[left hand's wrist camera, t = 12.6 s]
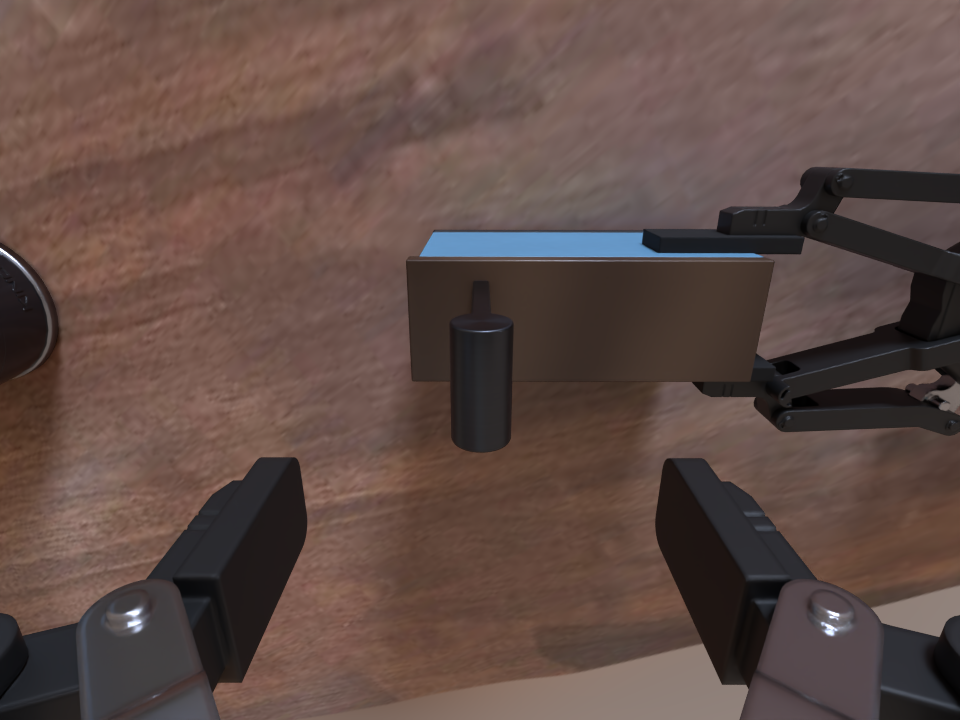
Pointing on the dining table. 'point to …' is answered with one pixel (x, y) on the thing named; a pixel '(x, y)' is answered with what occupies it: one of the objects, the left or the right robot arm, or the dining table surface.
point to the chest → (548, 244)
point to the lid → (577, 326)
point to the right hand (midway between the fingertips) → (644, 305)
